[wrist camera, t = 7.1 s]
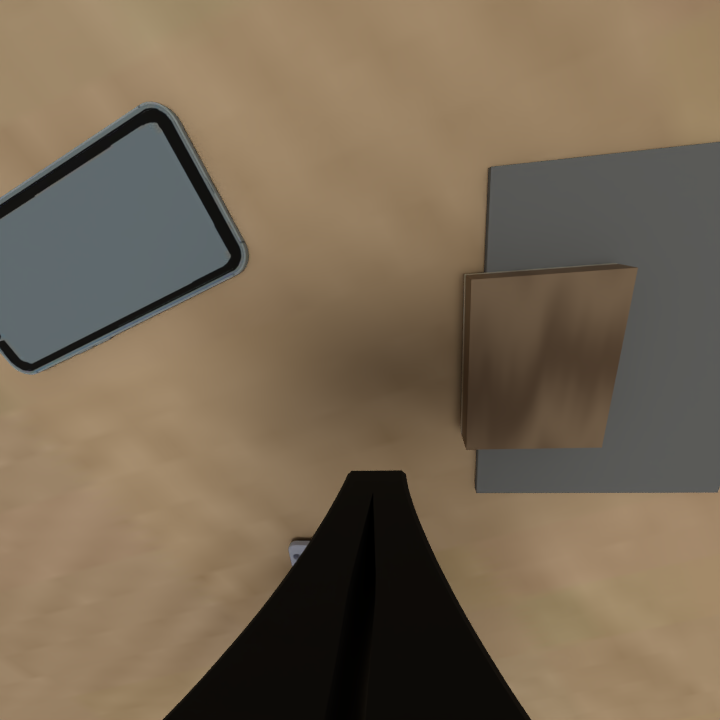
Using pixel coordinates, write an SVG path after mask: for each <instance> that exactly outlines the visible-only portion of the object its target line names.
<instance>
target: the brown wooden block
mask: <svg viewBox="0 0 720 720" xmlns="http://www.w3.org/2000/svg"><path fill="white" fill-rule="evenodd" d="M637 270H638V268H637V267H632V266H627V265H622V264H617V263H608V264H594V265H581V266H567V267H554V268H541V269H527V270H514V271H500V272H487V273H473V274H464V310H463V355H462V400H461V434H462V437H463V441H464V444H465V447H466V450H481V449H544V448H602V444H603V439H604V434H605V429H606V424H607V419H608V414H609V409H610V404H611V399H612V395H613V390H614V385H615V380H616V375H617V370H618V365H619V360H620V355H621V350H622V345H623V340H624V335H625V330H626V325H627V320H628V315H629V310H630V305H631V300H632V295H633V290H634V285H635V280H636V275H637Z"/></svg>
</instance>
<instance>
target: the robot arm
mask: <svg viewBox="0 0 720 720" xmlns="http://www.w3.org/2000/svg"><path fill="white" fill-rule="evenodd" d="M289 555H290V559H291V564H292V568H291V569H290V571H289V572H288V574H287V575H286V577H285V578H284V579H283V581H282V582H281V584H280V585H279V586H278V588H277V589H276V590H275V592H274V593H273V594H272V596H271V597H270V598H269V599H268V601H267V602H266V603H265V605H264V606H263V607H262V608H261V610H260V611H259V612H258V613H257V615H256V616H255V617H254V618H253V620H252V621H251V622H250V623H249V624H248V626H247V627H246V628H245V629H244V631H243V632H242V633H241V634H240V635H239V637H238V638H237V639H236V640H235V641H234V642H233V643H232V645H231V646H230V647H229V648H228V649H227V650H226V651H225V653H224V654H223V655H222V656H221V657H220V658H219V659H218V661H217V662H216V663H215V664H214V665H213V666H212V667H211V669H210V670H209V671H208V672H207V673H206V674H205V675H204V676H203V678H202V679H201V680H200V681H199V682H198V683H197V684H196V685H195V686H194V687H193V689H192V690H191V691H190V692H189V693H188V694H187V695H186V696H185V697H184V698H183V699H182V700H181V701H180V702H179V703H178V704H177V705H176V706H175V708H174V709H173V710H172V711H171V712H170V713H169V714H168V715H167V716H166V717H165V718H164V719H163V720H531V719H530V717H529V716H528V714H527V713H526V711H525V710H524V708H523V707H522V706H521V704H520V703H519V701H518V700H517V698H516V697H515V695H514V694H513V692H512V691H511V689H510V688H509V686H508V684H507V683H506V681H505V680H504V678H503V676H502V675H501V673H500V672H499V670H498V668H497V667H496V665H495V663H494V662H493V660H492V659H491V657H490V655H489V654H488V652H487V651H486V649H485V647H484V646H483V644H482V642H481V641H480V639H479V637H478V635H477V634H476V632H475V630H474V629H473V627H472V625H471V624H470V622H469V620H468V618H467V617H466V615H465V613H464V611H463V609H462V608H461V606H460V604H459V602H458V600H457V599H456V597H455V595H454V593H453V591H452V589H451V587H450V585H449V583H448V581H447V579H446V578H445V576H444V574H443V572H442V570H441V568H440V566H439V564H438V562H437V560H436V557H435V555H434V553H433V551H432V549H431V547H430V544H429V542H428V540H427V538H426V535H425V533H424V531H423V528H422V526H421V524H420V521H419V519H418V516H417V513H416V511H415V508H414V505H413V502H412V499H411V496H410V492H409V489H408V484H407V479H406V474H405V473H404V472H402V471H351V472H350V473H349V474H348V475H347V477H346V480H345V482H344V484H343V486H342V488H341V490H340V491H339V493H338V495H337V497H336V499H335V501H334V502H333V504H332V506H331V508H330V509H329V511H328V513H327V515H326V516H325V518H324V520H323V521H322V523H321V524H320V526H319V528H318V529H317V531H316V532H315V534H314V536H313V537H312V539H311V540H310V541H293V542H291V543H290V546H289Z"/></svg>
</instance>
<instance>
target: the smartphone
mask: <svg viewBox="0 0 720 720" xmlns="http://www.w3.org/2000/svg"><path fill="white" fill-rule="evenodd" d="M248 256H249V255H248V249H247V246H246V244H245V242H244V240H243V238H242V236H241V234H240V232H239V230H238V228H237V227H236V225H235V223H234V222H233V219H232V218H231V215H230V214H229V213H228V210H227V208H226V206H225V204H224V202H223V200H222V199H221V196H220V195H219V193H218V192H217V190H216V188H215V186H214V185H213V183H212V181H211V179H210V176H209V174H208V173H207V170H206V168H205V166H204V165H203V163H202V161H201V159H200V158H199V155H198V154H197V153H196V150H195V148H194V147H193V144H192V143H191V142H190V138H189V137H188V136H187V133H186V132H185V130H184V127H183V125H182V123H181V122H180V120H179V118H178V117H177V116H176V115H175V113H174V112H172V111H171V110H170V109H168V108H167V107H165V106H163V105H161V104H159V103H156V102H145V103H142V104H140V105H139V106H137V107H136V108H134V109H133V110H131V111H130V112H128V113H127V114H125V115H124V116H122V117H121V118H119V119H118V120H116V121H115V122H113V123H112V124H110V125H109V126H107V127H106V128H104V129H103V130H101V131H100V132H98V133H97V134H95V135H94V136H92V137H91V138H89V139H88V140H86V141H85V142H83V143H82V144H80V145H79V146H77V147H76V148H74V149H73V150H71V151H70V152H68V153H67V154H65V155H64V156H62V157H61V158H59V159H58V160H56V161H55V162H53V163H52V164H50V165H49V166H47V167H46V168H44V169H43V170H41V171H40V172H38V173H37V174H35V175H34V176H32V177H31V178H29V179H28V180H26V181H25V182H23V183H22V184H20V185H19V186H17V187H16V188H14V189H13V190H11V191H10V192H8V193H7V194H5V195H4V196H2V197H1V198H0V353H1V354H2V355H3V356H4V358H5V359H6V360H7V361H8V362H9V363H10V365H11V366H12V367H14V368H15V369H16V370H18V371H20V372H22V373H24V374H31V375H32V374H37V373H39V372H41V371H44V370H46V369H48V368H50V367H52V366H54V365H56V364H58V363H60V362H62V361H64V360H67V359H69V358H71V357H73V356H75V355H77V354H80V353H83V352H85V351H87V350H89V349H91V348H93V347H94V346H95V345H96V346H97V345H99V344H101V343H103V342H105V341H107V340H109V339H111V337H113V336H115V335H117V334H119V333H121V332H123V331H125V330H127V329H129V328H131V327H133V326H135V325H137V324H139V323H141V322H143V321H145V320H147V319H149V318H151V317H153V316H155V315H157V314H159V313H161V312H163V311H165V310H167V309H169V308H171V307H173V306H175V305H177V304H179V303H181V302H183V301H185V300H187V299H189V298H191V297H193V296H196V295H198V294H200V293H202V292H204V291H206V290H208V289H210V288H212V287H214V286H216V285H218V284H220V283H222V282H224V281H226V280H228V279H230V278H232V277H234V276H236V275H238V274H239V273H241V272H242V271H243V270H244V269H245V267H246V265H247V263H248Z"/></svg>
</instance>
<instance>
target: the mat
mask: <svg viewBox="0 0 720 720" xmlns="http://www.w3.org/2000/svg"><path fill="white" fill-rule="evenodd" d="M608 263H617V264H622V265H627V266H632V267H637V268H638V270H637V275H636V280H635V285H634V290H633V295H632V300H631V305H630V310H629V315H628V320H627V325H626V330H625V335H624V340H623V345H622V350H621V355H620V360H619V365H618V370H617V375H616V380H615V385H614V390H613V395H612V399H611V404H610V409H609V414H608V419H607V424H606V429H605V434H604V439H603V444H602V448H544V449H481V450H477V453H476V477H475V489H476V493H673V492H718V490H719V487H720V142H715V143H706V144H696V145H687V146H678V147H669V148H660V149H651V150H642V151H632V152H623V153H614V154H605V155H596V156H587V157H577V158H568V159H559V160H550V161H541V162H532V163H523V164H513V165H504V166H495V167H490V168H489V171H488V194H487V218H486V241H485V265H484V273H487V272H500V271H514V270H527V269H541V268H554V267H567V266H581V265H594V264H608Z"/></svg>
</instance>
